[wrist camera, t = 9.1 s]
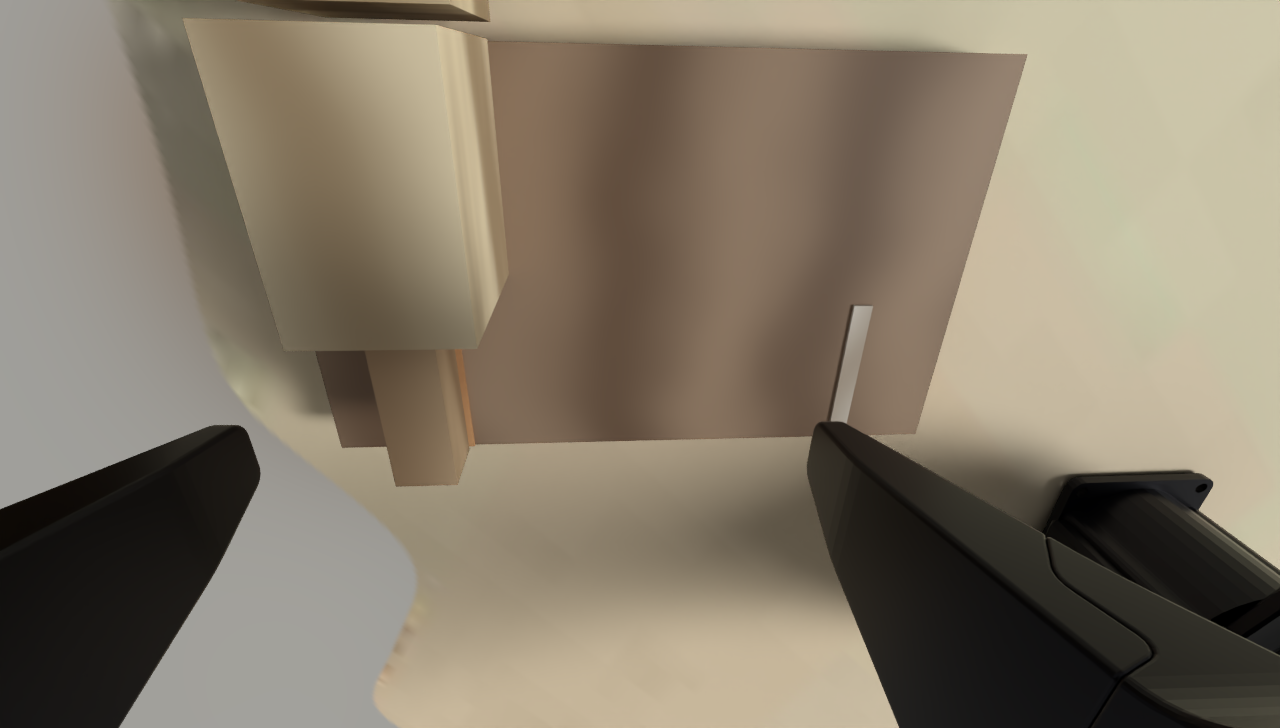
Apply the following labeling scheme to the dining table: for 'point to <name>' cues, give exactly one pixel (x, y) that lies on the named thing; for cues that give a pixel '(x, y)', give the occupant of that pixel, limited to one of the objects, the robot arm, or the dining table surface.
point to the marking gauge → (369, 196)
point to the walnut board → (719, 241)
